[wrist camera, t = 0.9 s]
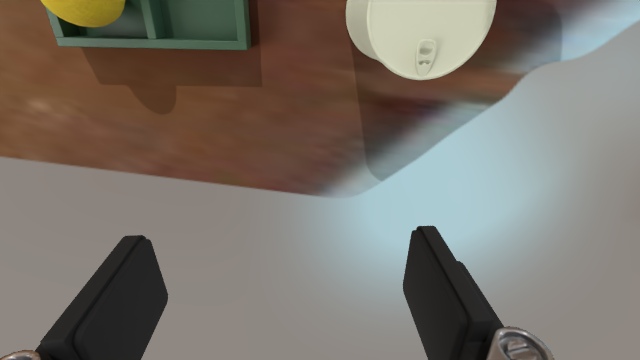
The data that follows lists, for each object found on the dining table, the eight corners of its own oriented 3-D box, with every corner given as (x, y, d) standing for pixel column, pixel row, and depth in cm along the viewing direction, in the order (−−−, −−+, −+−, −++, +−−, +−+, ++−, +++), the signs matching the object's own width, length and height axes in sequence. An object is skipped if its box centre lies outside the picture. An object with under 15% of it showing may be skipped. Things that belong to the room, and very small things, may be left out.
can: (344, 61, 34) (363, 83, 23) (347, -43, 30) (372, -73, 19) (428, 60, 34) (484, 81, 24) (443, -43, 30) (519, -72, 19)
